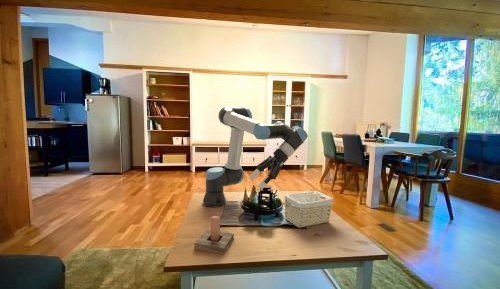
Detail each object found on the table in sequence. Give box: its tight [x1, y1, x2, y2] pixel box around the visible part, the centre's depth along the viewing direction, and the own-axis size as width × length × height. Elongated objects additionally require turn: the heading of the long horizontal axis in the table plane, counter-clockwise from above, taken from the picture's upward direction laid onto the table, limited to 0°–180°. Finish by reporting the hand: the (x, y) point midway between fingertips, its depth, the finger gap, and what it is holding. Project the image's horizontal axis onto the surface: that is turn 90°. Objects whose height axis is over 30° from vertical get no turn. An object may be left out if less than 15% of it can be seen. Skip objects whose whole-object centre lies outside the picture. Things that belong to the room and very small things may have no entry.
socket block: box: [193, 229, 235, 255], centre depth 122 cm, size 14×14×3 cm
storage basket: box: [284, 190, 334, 229], centre depth 150 cm, size 24×16×15 cm
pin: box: [210, 215, 221, 242], centre depth 121 cm, size 4×4×13 cm
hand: (254, 183), depth 130 cm, fingers open, 13 cm apart
